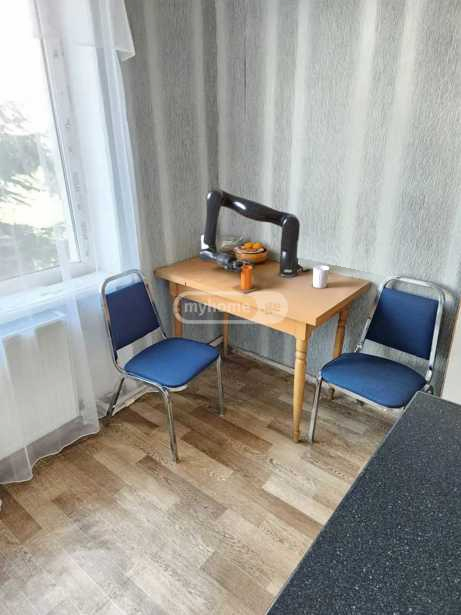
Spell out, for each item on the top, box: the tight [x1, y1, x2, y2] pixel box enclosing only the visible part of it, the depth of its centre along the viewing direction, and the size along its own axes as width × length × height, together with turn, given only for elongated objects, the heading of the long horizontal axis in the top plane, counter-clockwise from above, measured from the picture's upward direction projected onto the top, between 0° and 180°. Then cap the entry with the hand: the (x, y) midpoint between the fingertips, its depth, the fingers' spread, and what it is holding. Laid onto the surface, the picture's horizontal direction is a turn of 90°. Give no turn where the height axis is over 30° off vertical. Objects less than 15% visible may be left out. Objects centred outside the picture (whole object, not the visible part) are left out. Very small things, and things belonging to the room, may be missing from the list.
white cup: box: [312, 265, 330, 289], centre depth 203 cm, size 8×8×10 cm
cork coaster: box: [232, 284, 261, 294], centre depth 203 cm, size 10×10×1 cm
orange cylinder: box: [240, 265, 253, 290], centre depth 200 cm, size 6×6×11 cm
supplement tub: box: [200, 234, 218, 249], centre depth 245 cm, size 10×10×15 cm
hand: (247, 268), depth 198 cm, fingers open, 8 cm apart
